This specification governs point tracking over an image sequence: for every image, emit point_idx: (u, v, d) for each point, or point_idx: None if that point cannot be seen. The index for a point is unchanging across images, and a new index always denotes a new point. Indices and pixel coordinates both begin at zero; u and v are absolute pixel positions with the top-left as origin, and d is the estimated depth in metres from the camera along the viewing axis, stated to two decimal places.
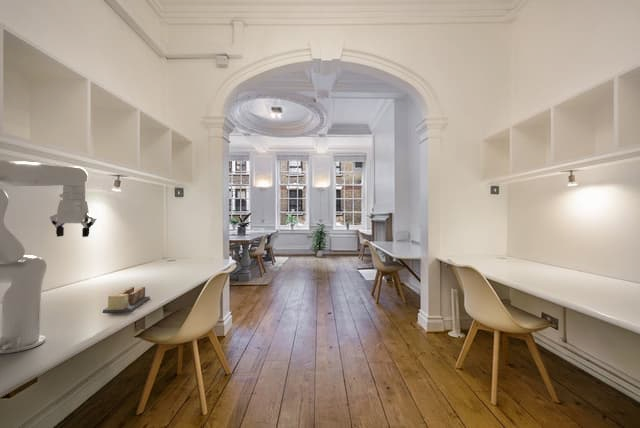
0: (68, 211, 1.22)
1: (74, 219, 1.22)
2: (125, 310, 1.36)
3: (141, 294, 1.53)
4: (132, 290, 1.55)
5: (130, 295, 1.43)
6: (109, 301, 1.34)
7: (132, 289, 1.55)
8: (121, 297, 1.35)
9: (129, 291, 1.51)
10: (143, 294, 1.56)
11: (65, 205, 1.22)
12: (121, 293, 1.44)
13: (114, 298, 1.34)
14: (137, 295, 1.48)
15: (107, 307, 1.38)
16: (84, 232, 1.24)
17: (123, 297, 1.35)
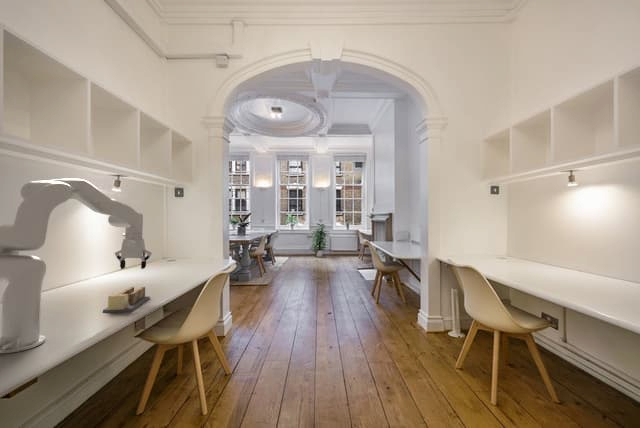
0: (130, 248, 1.47)
1: (135, 254, 1.48)
2: (125, 310, 1.36)
3: (141, 294, 1.53)
4: (132, 290, 1.55)
5: (130, 295, 1.43)
6: (109, 301, 1.34)
7: (132, 289, 1.55)
8: (121, 297, 1.35)
9: (129, 291, 1.51)
10: (143, 294, 1.56)
11: (127, 243, 1.47)
12: (121, 293, 1.44)
13: (114, 298, 1.34)
14: (137, 295, 1.48)
15: (107, 307, 1.38)
16: (142, 265, 1.50)
17: (123, 297, 1.35)
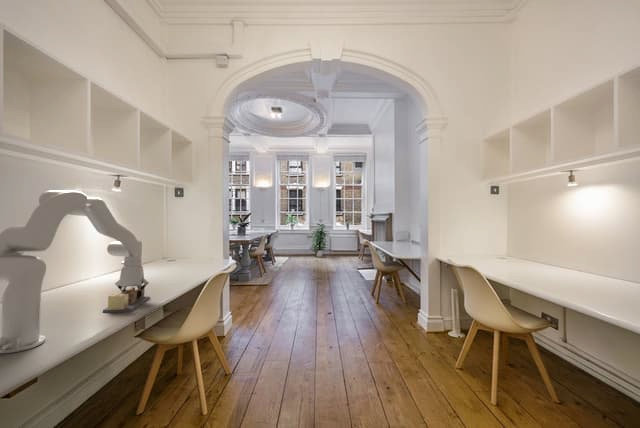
0: (128, 276, 1.47)
1: (134, 283, 1.47)
2: (125, 310, 1.36)
3: None
4: (133, 290, 1.55)
5: (129, 295, 1.43)
6: (109, 301, 1.34)
7: (133, 289, 1.55)
8: (121, 297, 1.35)
9: (130, 291, 1.51)
10: (142, 294, 1.55)
11: (126, 271, 1.47)
12: (122, 293, 1.44)
13: (114, 298, 1.34)
14: (136, 295, 1.48)
15: (107, 307, 1.38)
16: (138, 294, 1.49)
17: (123, 297, 1.35)
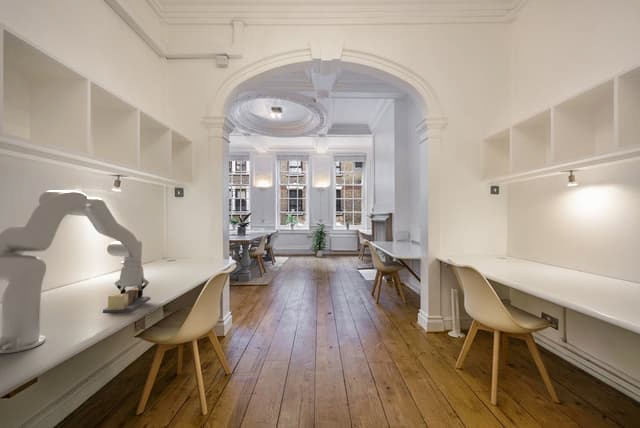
0: (128, 276, 1.47)
1: (133, 283, 1.47)
2: (125, 310, 1.36)
3: (137, 294, 1.53)
4: None
5: None
6: (109, 301, 1.34)
7: None
8: (121, 297, 1.35)
9: None
10: None
11: (126, 271, 1.47)
12: (125, 293, 1.44)
13: (114, 298, 1.34)
14: (133, 295, 1.48)
15: (107, 307, 1.38)
16: (139, 294, 1.49)
17: (123, 297, 1.35)
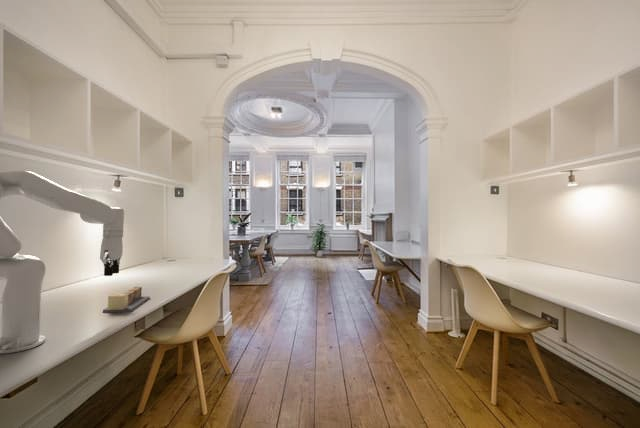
0: None
1: None
2: (125, 310, 1.36)
3: (137, 294, 1.53)
4: None
5: None
6: (109, 301, 1.34)
7: None
8: (121, 297, 1.35)
9: None
10: (139, 294, 1.55)
11: None
12: (125, 293, 1.44)
13: (114, 298, 1.34)
14: (133, 295, 1.48)
15: (107, 307, 1.38)
16: (105, 271, 1.26)
17: (123, 297, 1.35)
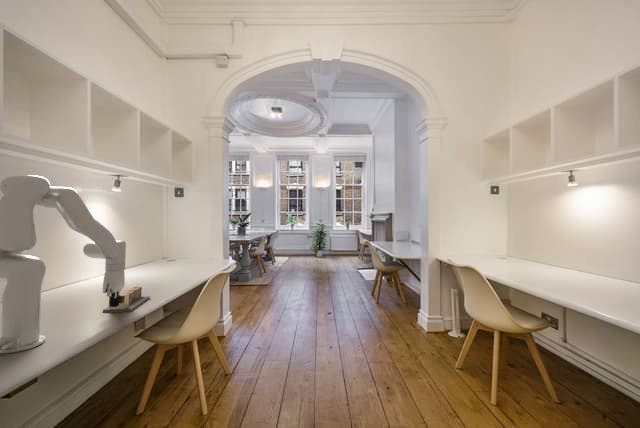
0: None
1: None
2: (125, 310, 1.36)
3: (137, 294, 1.53)
4: None
5: None
6: None
7: None
8: (122, 297, 1.35)
9: None
10: (139, 294, 1.55)
11: None
12: (125, 293, 1.44)
13: None
14: (133, 295, 1.48)
15: (107, 307, 1.38)
16: (110, 302, 1.31)
17: (124, 297, 1.36)
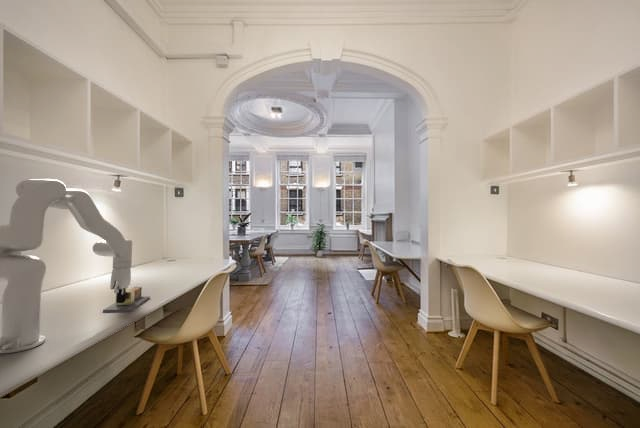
0: None
1: None
2: (125, 310, 1.36)
3: (137, 294, 1.53)
4: None
5: None
6: None
7: None
8: (128, 293, 1.41)
9: None
10: (139, 294, 1.55)
11: None
12: None
13: None
14: None
15: (107, 307, 1.38)
16: (117, 298, 1.38)
17: (130, 293, 1.42)
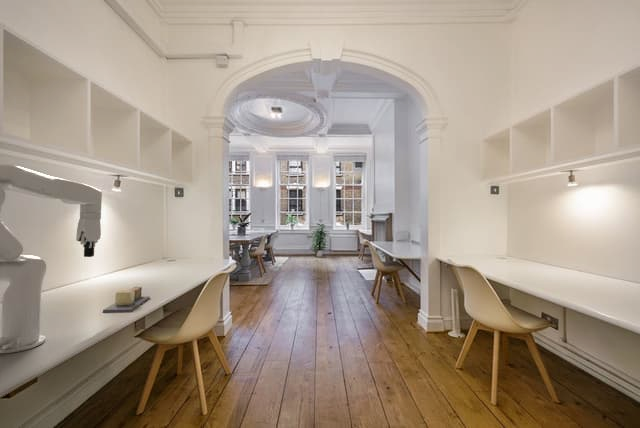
0: None
1: None
2: (125, 310, 1.36)
3: (137, 294, 1.53)
4: None
5: None
6: (116, 297, 1.40)
7: None
8: (128, 293, 1.41)
9: None
10: (139, 294, 1.55)
11: None
12: None
13: (121, 295, 1.41)
14: None
15: (107, 307, 1.38)
16: (84, 252, 1.28)
17: (130, 293, 1.41)
